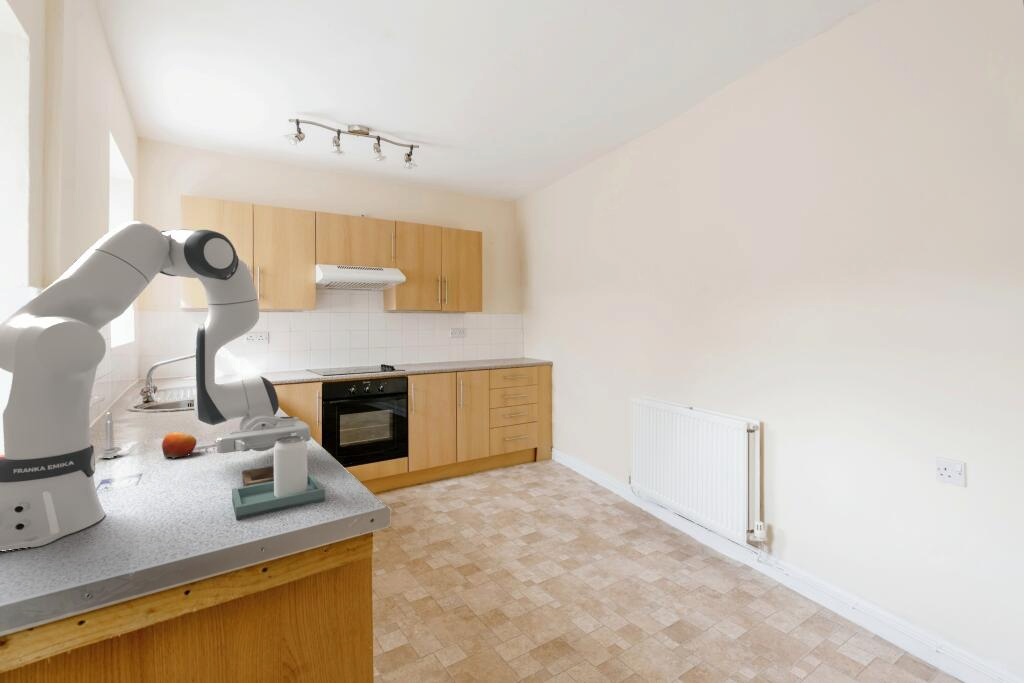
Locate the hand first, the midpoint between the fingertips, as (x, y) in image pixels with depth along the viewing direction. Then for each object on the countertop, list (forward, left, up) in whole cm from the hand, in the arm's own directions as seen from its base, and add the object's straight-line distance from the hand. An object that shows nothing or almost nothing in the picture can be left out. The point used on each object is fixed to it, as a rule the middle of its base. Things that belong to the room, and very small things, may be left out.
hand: (269, 444), depth 105 cm
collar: (0, +1, -9) cm, 9 cm away
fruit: (-18, +41, -10) cm, 46 cm away
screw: (-34, +51, -10) cm, 62 cm away
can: (+2, -12, -9) cm, 15 cm away
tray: (0, -12, -9) cm, 15 cm away
